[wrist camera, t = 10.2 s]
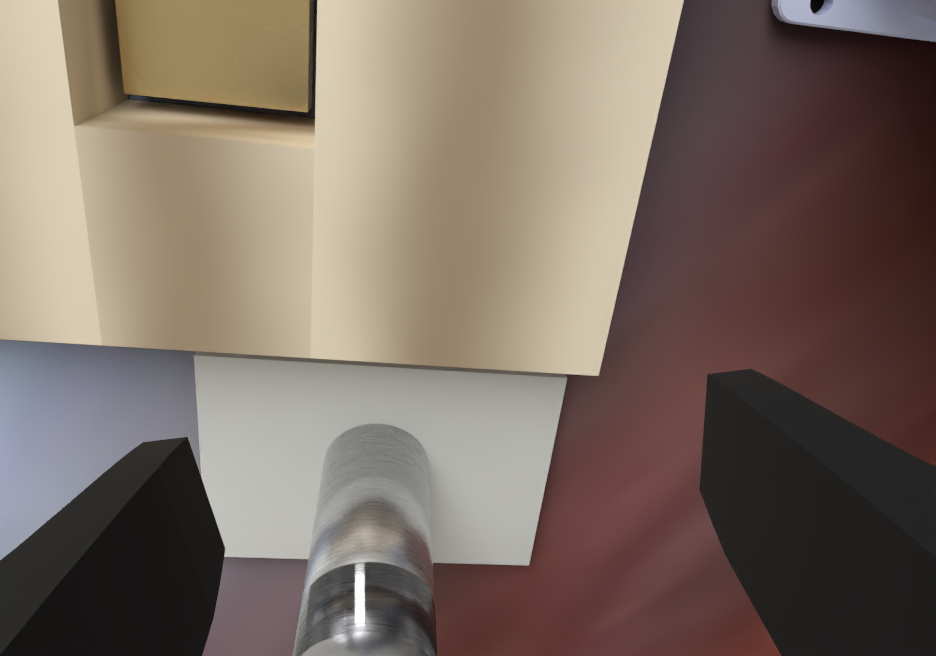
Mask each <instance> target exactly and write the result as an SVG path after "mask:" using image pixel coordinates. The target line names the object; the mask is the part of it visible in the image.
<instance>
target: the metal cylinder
mask: <svg viewBox="0 0 936 656" xmlns="http://www.w3.org/2000/svg"><path fill="white" fill-rule="evenodd" d="M293 656H437V641H436V620H435V598H434V577H433V556H432V535H431V514H430V492H429V471H428V459H427V455H426V452H425V450H424V448H423V446H422V445H421V443H420V442H419V441H418V440H417V439H416V438H415V437H414V436H413V435H411V434H410V433H408V432H407V431H405V430H403V429H401V428H398V427H395V426H392V425H387V424H366V425H361V426H357V427H354V428H352V429H349V430H347V431H346V432H344V433H342V434H341V435H340V436H338V437H337V438H336V439H335V440H334V441H333V442H332V444H331V445H330V446H329V448H328V450H327V452H326V455H325V459H324V464H323V470H322V477H321V483H320V489H319V495H318V501H317V508H316V514H315V520H314V526H313V533H312V539H311V545H310V551H309V557H308V564H307V570H306V576H305V582H304V589H303V595H302V601H301V607H300V613H299V620H298V626H297V632H296V638H295V645H294V651H293Z"/></svg>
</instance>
